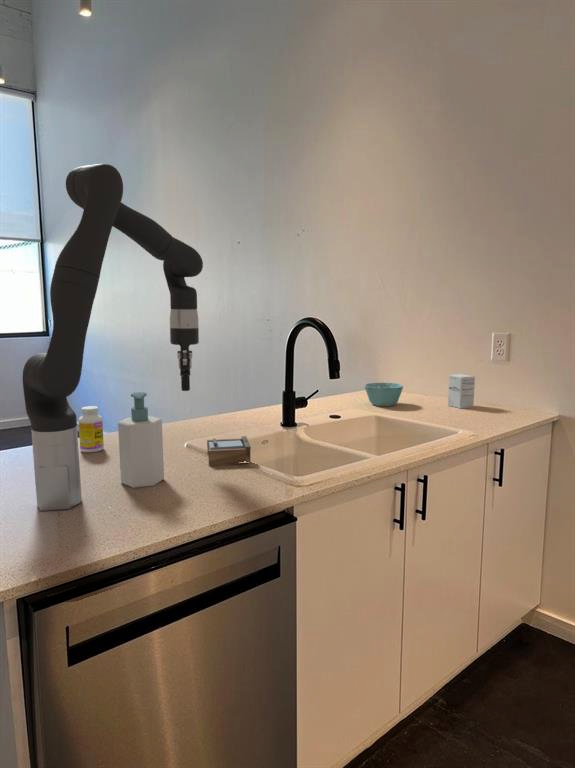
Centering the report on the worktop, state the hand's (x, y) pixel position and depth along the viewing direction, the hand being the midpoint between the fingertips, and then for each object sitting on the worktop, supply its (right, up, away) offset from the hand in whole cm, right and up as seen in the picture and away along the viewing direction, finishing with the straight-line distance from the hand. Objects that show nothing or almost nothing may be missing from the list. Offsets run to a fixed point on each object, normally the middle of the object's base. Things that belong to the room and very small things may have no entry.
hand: (185, 390), depth 156 cm
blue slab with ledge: (+11, -19, +5) cm, 23 cm away
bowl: (+67, -7, +80) cm, 105 cm away
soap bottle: (-8, -22, -14) cm, 28 cm away
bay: (+11, -19, +5) cm, 22 cm away
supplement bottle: (-30, -18, +14) cm, 38 cm away
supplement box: (+97, -8, +76) cm, 124 cm away
